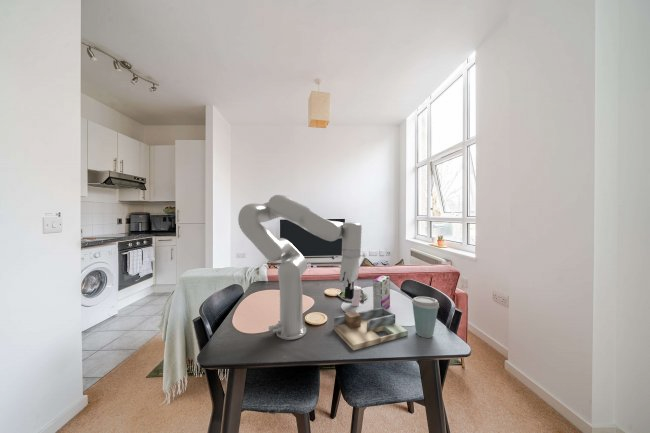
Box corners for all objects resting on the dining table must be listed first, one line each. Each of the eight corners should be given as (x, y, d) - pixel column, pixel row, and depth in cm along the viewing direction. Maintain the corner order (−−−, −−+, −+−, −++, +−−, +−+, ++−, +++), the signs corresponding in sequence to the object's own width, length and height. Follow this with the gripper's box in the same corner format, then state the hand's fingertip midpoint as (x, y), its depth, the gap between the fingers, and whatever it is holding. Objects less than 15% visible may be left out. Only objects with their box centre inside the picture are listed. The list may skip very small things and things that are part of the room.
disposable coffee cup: (405, 330, 101) (406, 296, 101) (424, 325, 105) (424, 292, 105) (425, 343, 91) (425, 305, 91) (445, 337, 96) (445, 301, 95)
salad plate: (376, 301, 135) (376, 293, 135) (348, 306, 128) (348, 298, 128) (359, 290, 153) (359, 283, 153) (334, 294, 146) (334, 287, 146)
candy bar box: (381, 304, 130) (381, 274, 129) (390, 306, 127) (390, 276, 126) (372, 311, 121) (372, 279, 120) (381, 313, 118) (381, 281, 117)
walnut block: (350, 329, 99) (350, 317, 99) (344, 323, 103) (344, 312, 103) (360, 326, 101) (360, 315, 100) (354, 321, 105) (354, 310, 105)
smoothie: (358, 308, 124) (358, 282, 124) (347, 305, 128) (347, 280, 128) (363, 304, 130) (363, 279, 130) (352, 301, 133) (352, 277, 133)
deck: (353, 350, 87) (353, 335, 87) (333, 329, 102) (333, 316, 102) (407, 335, 97) (407, 322, 97) (382, 318, 113) (382, 306, 113)
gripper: (348, 249, 103) (347, 290, 104) (335, 254, 90) (333, 302, 90) (365, 251, 100) (363, 294, 100) (353, 257, 86) (351, 306, 87)
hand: (349, 297), depth 95 cm, fingers closed
